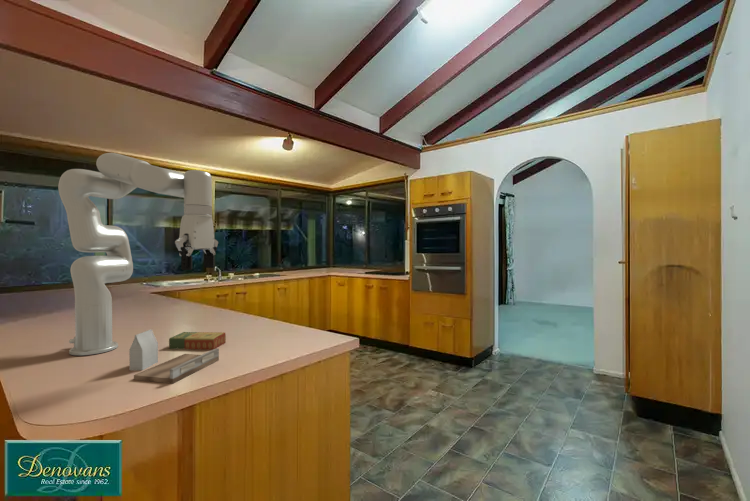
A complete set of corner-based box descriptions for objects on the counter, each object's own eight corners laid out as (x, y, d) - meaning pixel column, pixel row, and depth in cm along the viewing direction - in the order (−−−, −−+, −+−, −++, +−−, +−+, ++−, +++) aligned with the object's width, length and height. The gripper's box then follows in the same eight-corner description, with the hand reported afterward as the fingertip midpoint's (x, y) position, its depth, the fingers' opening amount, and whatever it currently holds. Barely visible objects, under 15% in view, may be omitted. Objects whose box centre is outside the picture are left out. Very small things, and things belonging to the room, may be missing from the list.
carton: (213, 350, 115) (213, 338, 115) (168, 349, 116) (168, 337, 116) (226, 343, 123) (225, 331, 123) (183, 342, 124) (183, 331, 124)
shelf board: (133, 379, 89) (133, 366, 89) (184, 357, 107) (184, 346, 107) (173, 383, 87) (173, 369, 87) (219, 360, 105) (219, 348, 104)
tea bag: (157, 362, 103) (157, 329, 103) (142, 370, 96) (142, 335, 96) (145, 362, 103) (145, 329, 103) (129, 370, 96) (129, 335, 96)
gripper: (206, 215, 112) (206, 266, 112) (164, 209, 95) (165, 270, 95) (226, 214, 111) (227, 267, 111) (188, 209, 94) (188, 271, 94)
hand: (198, 268), depth 103 cm, fingers open, 9 cm apart
